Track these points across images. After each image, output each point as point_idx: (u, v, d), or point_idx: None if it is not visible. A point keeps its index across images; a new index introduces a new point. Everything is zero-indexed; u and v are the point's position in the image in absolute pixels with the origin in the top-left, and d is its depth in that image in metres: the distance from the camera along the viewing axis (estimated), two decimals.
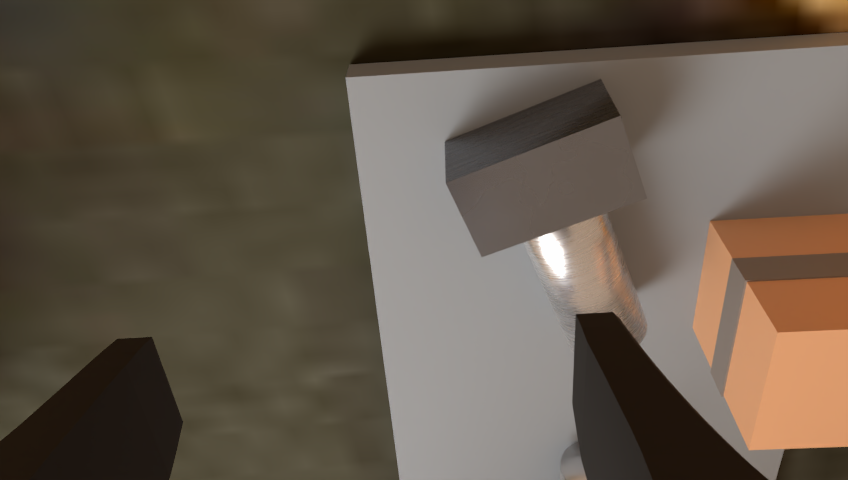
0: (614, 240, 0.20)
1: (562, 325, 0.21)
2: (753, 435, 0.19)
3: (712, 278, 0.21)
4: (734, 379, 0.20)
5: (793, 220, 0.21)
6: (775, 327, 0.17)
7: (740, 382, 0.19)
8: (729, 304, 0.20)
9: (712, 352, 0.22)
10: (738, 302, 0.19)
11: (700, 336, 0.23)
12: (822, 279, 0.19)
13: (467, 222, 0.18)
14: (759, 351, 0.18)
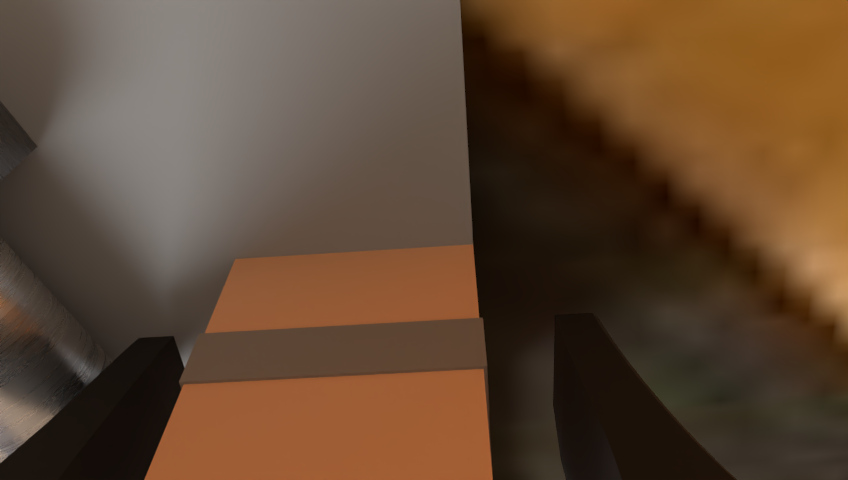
0: None
1: None
2: None
3: None
4: None
5: (368, 257, 0.12)
6: None
7: None
8: None
9: None
10: None
11: None
12: (319, 380, 0.10)
13: None
14: None
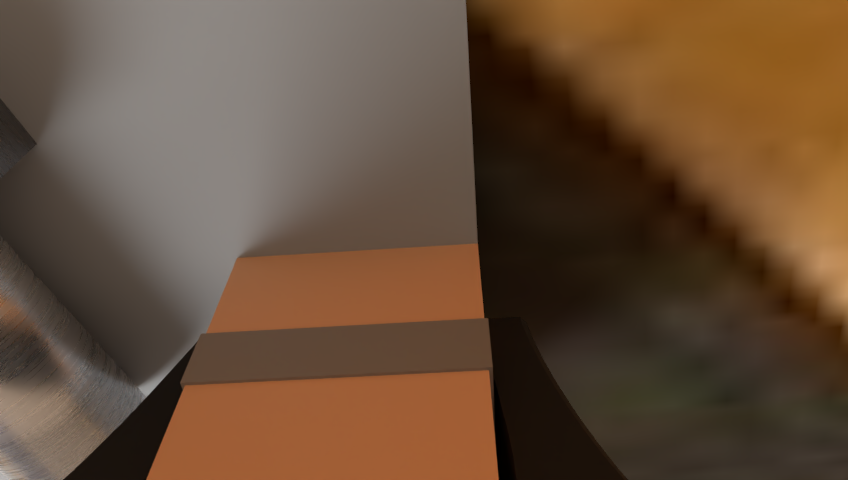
0: None
1: None
2: None
3: None
4: None
5: (371, 257, 0.12)
6: None
7: None
8: None
9: None
10: None
11: None
12: (322, 381, 0.09)
13: None
14: None
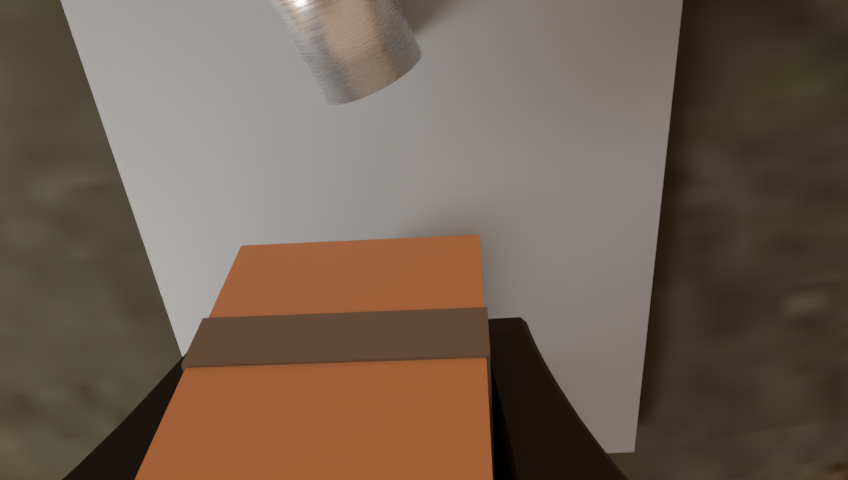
0: None
1: (299, 53, 0.15)
2: None
3: None
4: None
5: (374, 246, 0.12)
6: (137, 478, 0.08)
7: None
8: None
9: None
10: None
11: None
12: (321, 366, 0.10)
13: None
14: None
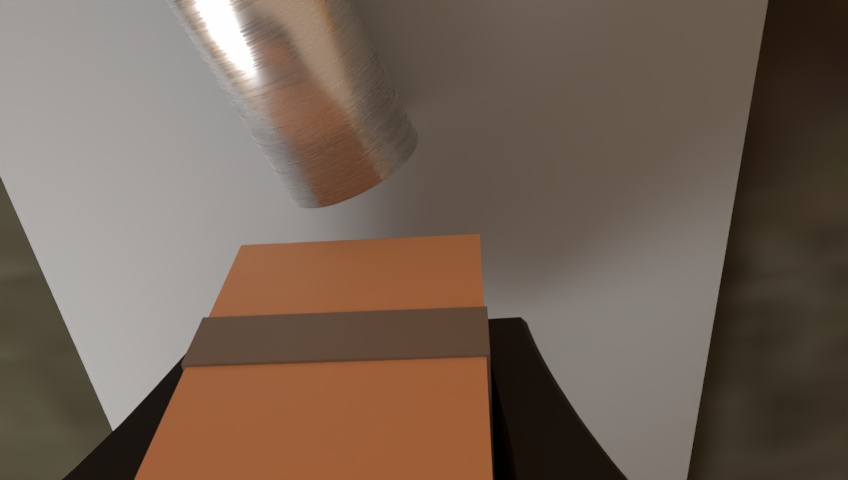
0: None
1: (256, 142, 0.12)
2: None
3: None
4: None
5: (374, 245, 0.12)
6: (137, 477, 0.08)
7: None
8: None
9: None
10: None
11: None
12: (321, 365, 0.10)
13: None
14: None
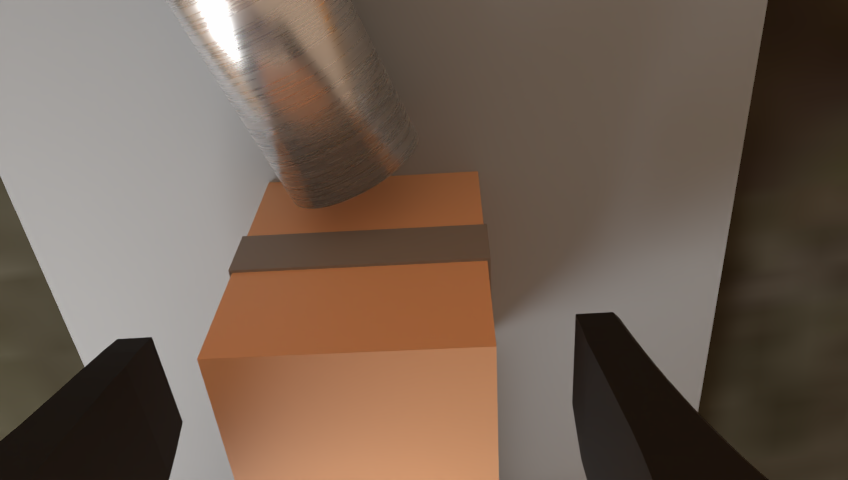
0: None
1: (256, 142, 0.12)
2: None
3: None
4: None
5: (386, 181, 0.14)
6: (201, 349, 0.10)
7: None
8: None
9: None
10: None
11: None
12: (348, 269, 0.11)
13: None
14: None
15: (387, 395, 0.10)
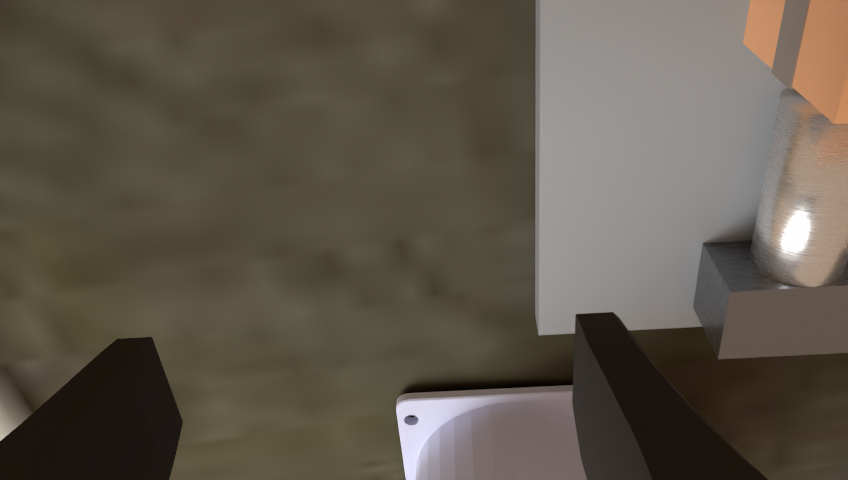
0: None
1: None
2: (842, 96, 0.14)
3: None
4: (810, 46, 0.15)
5: None
6: None
7: (822, 39, 0.14)
8: None
9: (775, 44, 0.17)
10: None
11: (755, 41, 0.18)
12: None
13: None
14: None
15: None
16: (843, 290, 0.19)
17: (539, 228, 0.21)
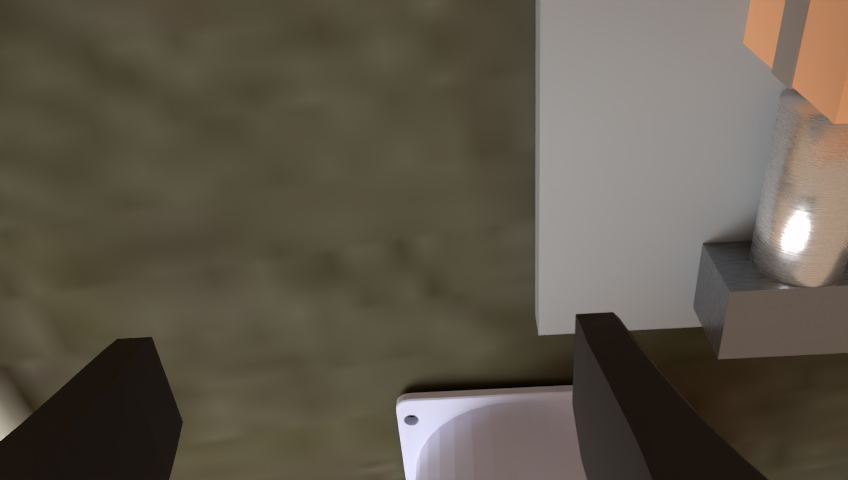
0: None
1: None
2: (842, 96, 0.14)
3: None
4: (810, 46, 0.15)
5: None
6: None
7: (822, 39, 0.14)
8: None
9: (775, 44, 0.17)
10: None
11: (755, 41, 0.18)
12: None
13: None
14: None
15: None
16: (843, 290, 0.19)
17: (539, 228, 0.21)
